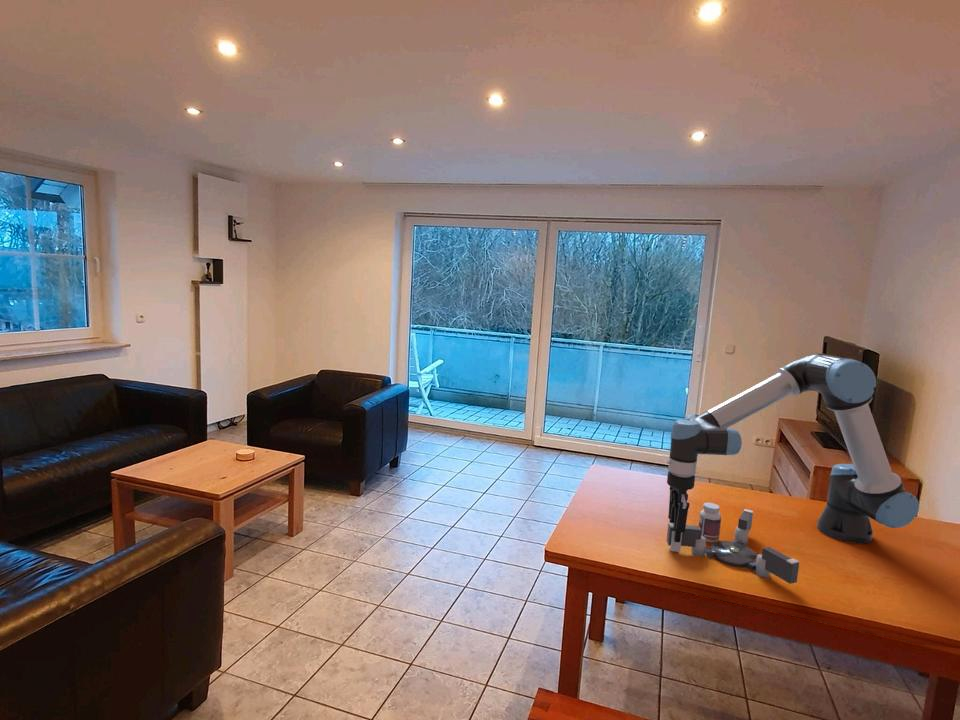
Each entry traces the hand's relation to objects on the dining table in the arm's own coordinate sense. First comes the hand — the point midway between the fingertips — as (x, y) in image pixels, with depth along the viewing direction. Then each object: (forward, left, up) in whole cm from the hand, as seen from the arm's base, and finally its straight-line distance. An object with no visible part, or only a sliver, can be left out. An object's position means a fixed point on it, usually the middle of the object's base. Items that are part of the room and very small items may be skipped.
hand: (673, 547), depth 160 cm
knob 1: (-24, -12, -1) cm, 27 cm away
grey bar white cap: (-24, +12, -1) cm, 27 cm away
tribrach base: (-17, 0, -1) cm, 17 cm away
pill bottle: (-13, -11, -1) cm, 17 cm away
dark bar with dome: (-3, 0, -1) cm, 4 cm away
